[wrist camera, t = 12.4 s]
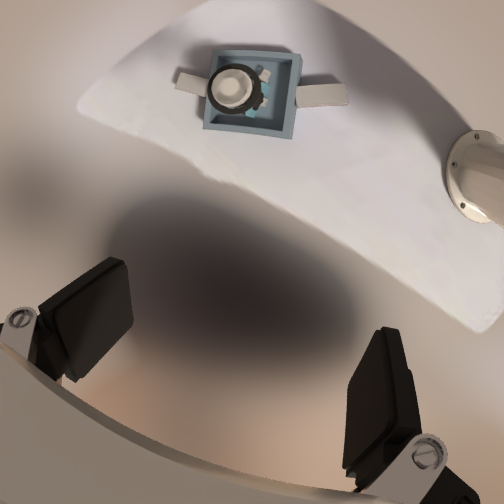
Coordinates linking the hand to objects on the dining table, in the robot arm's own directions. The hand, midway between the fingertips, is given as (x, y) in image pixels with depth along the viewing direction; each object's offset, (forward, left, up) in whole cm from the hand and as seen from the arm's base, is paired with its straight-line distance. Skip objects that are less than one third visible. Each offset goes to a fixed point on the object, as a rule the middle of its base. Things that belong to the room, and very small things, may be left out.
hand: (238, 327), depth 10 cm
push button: (+8, -11, -28) cm, 31 cm away
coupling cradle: (+8, -11, -28) cm, 31 cm away
